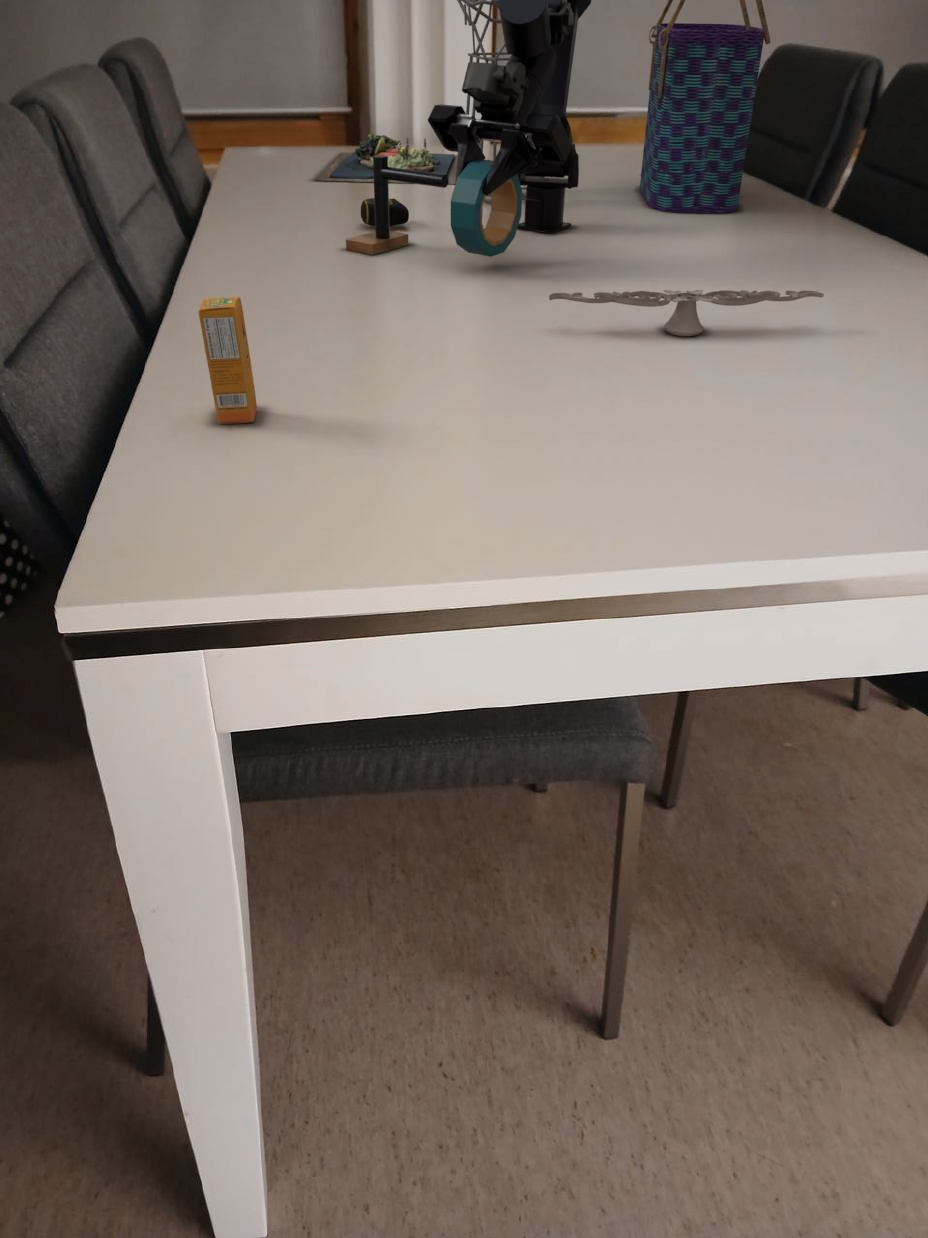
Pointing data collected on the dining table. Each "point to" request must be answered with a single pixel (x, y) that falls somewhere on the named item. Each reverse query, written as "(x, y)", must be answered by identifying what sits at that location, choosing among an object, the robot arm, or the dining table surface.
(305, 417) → the dining table surface
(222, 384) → the supplement box
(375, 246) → the hook base
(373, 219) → the tape measure
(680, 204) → the basket
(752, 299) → the wall hook
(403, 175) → the hook
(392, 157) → the plated dish
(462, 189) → the tape roll
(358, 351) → the dining table surface
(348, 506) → the dining table surface
